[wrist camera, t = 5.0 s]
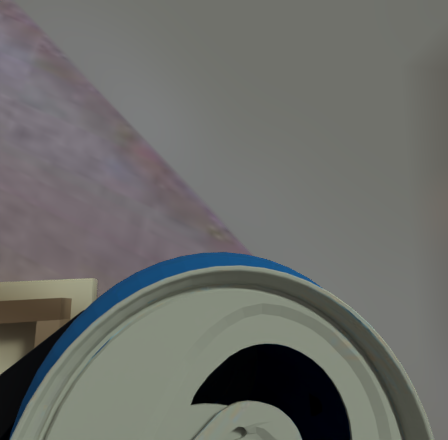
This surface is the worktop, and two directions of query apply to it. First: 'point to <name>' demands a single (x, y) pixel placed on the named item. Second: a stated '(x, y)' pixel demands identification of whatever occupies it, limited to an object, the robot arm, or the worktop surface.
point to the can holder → (38, 312)
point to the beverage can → (220, 362)
